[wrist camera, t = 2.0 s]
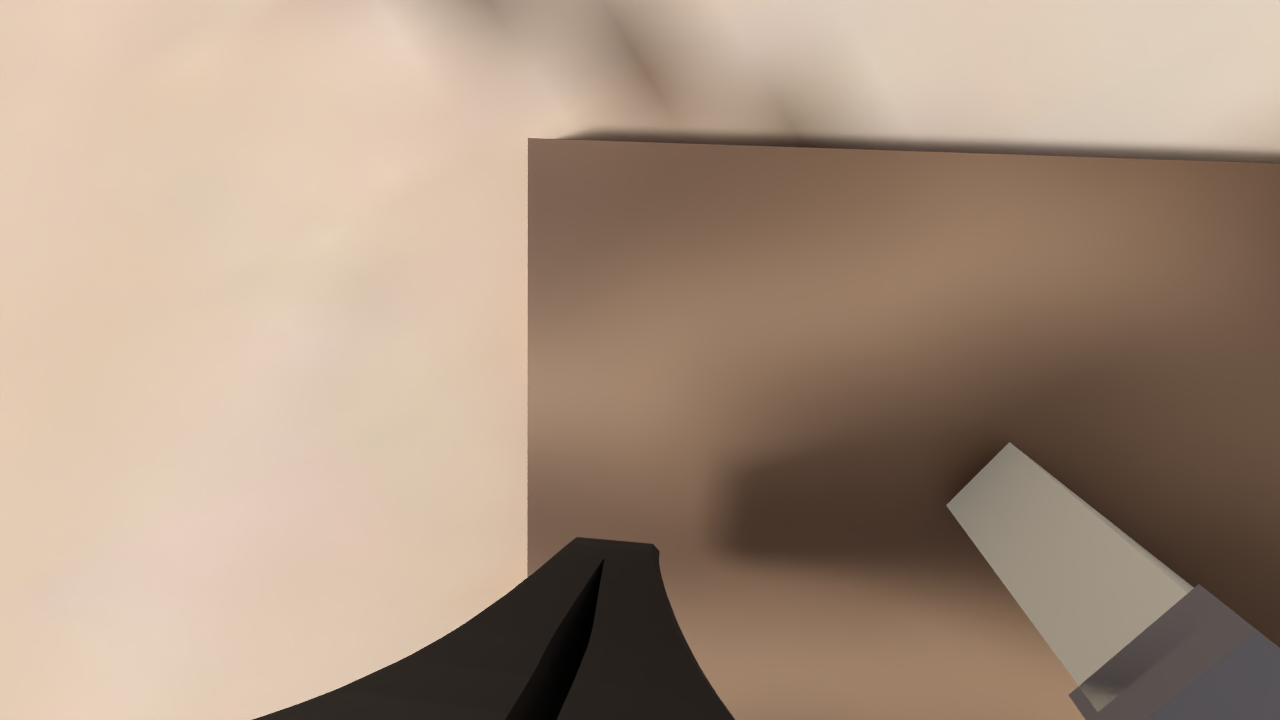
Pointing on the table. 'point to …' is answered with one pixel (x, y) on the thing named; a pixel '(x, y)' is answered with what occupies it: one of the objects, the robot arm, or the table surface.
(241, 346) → the table surface
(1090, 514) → the panel
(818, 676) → the brown wooden board
